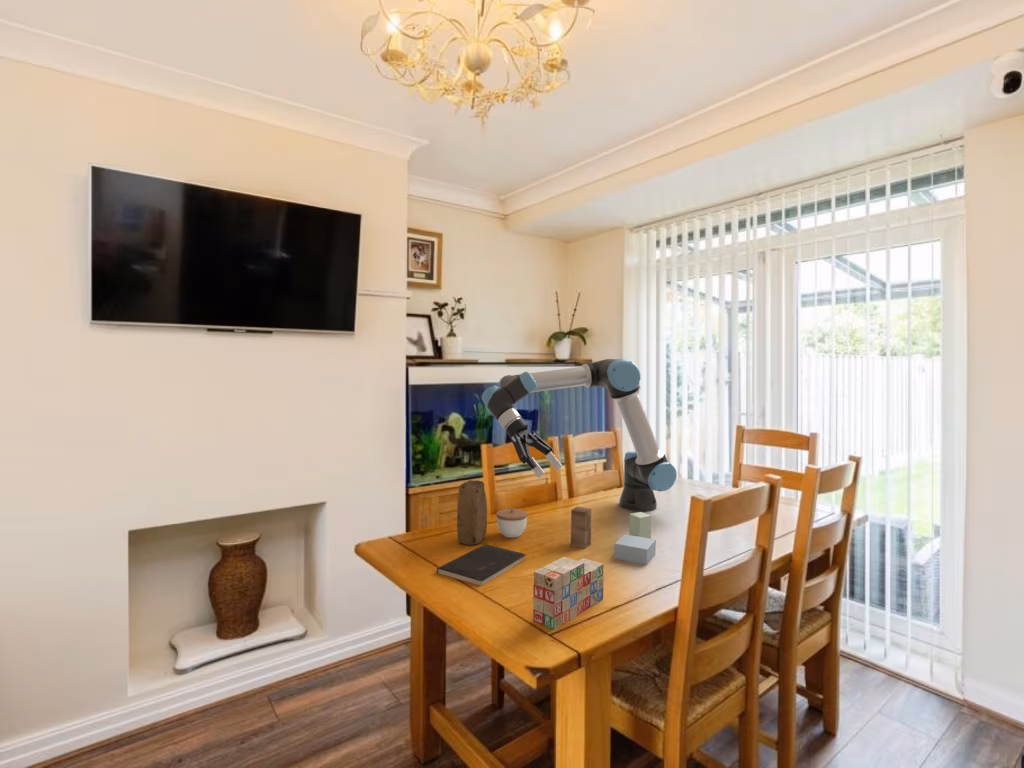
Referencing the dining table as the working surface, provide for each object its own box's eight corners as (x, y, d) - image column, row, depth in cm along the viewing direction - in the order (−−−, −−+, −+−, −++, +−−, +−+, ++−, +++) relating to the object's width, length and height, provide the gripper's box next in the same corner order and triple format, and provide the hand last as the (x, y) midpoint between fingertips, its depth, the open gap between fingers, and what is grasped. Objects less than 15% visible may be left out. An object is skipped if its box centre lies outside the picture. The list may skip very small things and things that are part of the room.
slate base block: (624, 549, 173) (624, 534, 173) (655, 555, 169) (655, 539, 168) (614, 559, 165) (614, 543, 164) (646, 565, 160) (647, 549, 160)
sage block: (640, 537, 184) (640, 511, 184) (650, 542, 180) (651, 515, 179) (629, 539, 182) (629, 513, 181) (639, 544, 177) (640, 517, 177)
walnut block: (576, 541, 180) (577, 506, 179) (590, 544, 177) (591, 508, 176) (570, 545, 175) (571, 509, 175) (584, 548, 173) (585, 512, 172)
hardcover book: (526, 561, 163) (526, 554, 163) (481, 588, 144) (481, 580, 144) (483, 550, 172) (483, 543, 172) (436, 574, 152) (436, 567, 152)
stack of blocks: (583, 592, 141) (584, 546, 141) (603, 599, 137) (604, 552, 137) (532, 621, 125) (533, 570, 125) (554, 631, 121) (554, 578, 120)
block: (474, 547, 173) (475, 486, 172) (454, 544, 176) (454, 484, 175) (489, 537, 183) (490, 479, 182) (470, 534, 186) (470, 477, 185)
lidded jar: (533, 536, 184) (533, 509, 183) (506, 542, 178) (506, 514, 178) (516, 528, 193) (516, 502, 192) (490, 533, 187) (490, 506, 187)
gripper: (524, 427, 199) (559, 472, 192) (487, 434, 178) (525, 485, 171) (537, 414, 196) (573, 459, 189) (501, 420, 175) (541, 471, 168)
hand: (551, 471), depth 180 cm, fingers open, 13 cm apart
